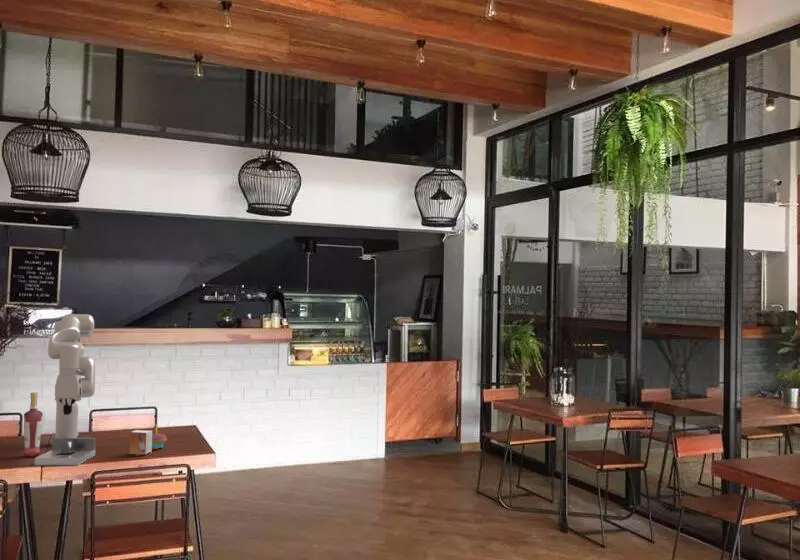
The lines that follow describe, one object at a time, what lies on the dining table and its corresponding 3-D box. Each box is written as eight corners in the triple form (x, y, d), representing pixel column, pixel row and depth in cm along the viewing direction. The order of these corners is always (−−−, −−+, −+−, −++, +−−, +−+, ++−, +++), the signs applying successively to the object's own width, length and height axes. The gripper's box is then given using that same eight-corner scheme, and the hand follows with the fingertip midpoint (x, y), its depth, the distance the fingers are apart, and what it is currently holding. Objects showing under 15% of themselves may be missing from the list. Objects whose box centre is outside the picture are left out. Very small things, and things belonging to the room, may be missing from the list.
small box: (129, 455, 303) (129, 431, 303) (135, 452, 308) (136, 429, 309) (145, 456, 302) (146, 432, 302) (151, 453, 307) (152, 430, 308)
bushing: (62, 459, 293) (63, 440, 293) (73, 459, 293) (73, 440, 294) (58, 461, 289) (59, 442, 289) (68, 461, 289) (69, 442, 289)
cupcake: (144, 448, 317) (145, 423, 318) (161, 446, 323) (162, 421, 324) (152, 451, 311) (153, 425, 312) (169, 449, 317) (170, 423, 317)
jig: (53, 455, 299) (54, 437, 300) (95, 455, 301) (95, 437, 301) (34, 465, 281) (35, 446, 282) (78, 465, 283) (79, 446, 283)
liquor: (41, 457, 296) (43, 393, 297) (22, 458, 293) (24, 394, 294) (40, 453, 303) (43, 391, 304) (22, 455, 299) (24, 392, 300)
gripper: (89, 371, 297) (88, 413, 296) (55, 370, 296) (53, 412, 295) (83, 373, 289) (81, 416, 289) (47, 372, 288) (45, 415, 288)
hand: (67, 414), depth 292 cm, fingers closed
